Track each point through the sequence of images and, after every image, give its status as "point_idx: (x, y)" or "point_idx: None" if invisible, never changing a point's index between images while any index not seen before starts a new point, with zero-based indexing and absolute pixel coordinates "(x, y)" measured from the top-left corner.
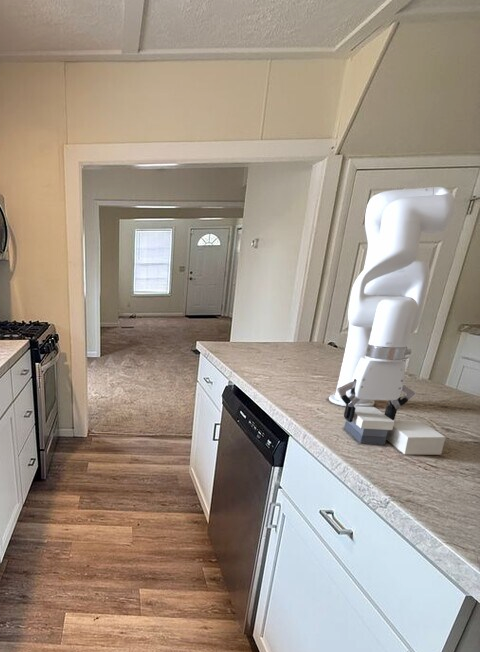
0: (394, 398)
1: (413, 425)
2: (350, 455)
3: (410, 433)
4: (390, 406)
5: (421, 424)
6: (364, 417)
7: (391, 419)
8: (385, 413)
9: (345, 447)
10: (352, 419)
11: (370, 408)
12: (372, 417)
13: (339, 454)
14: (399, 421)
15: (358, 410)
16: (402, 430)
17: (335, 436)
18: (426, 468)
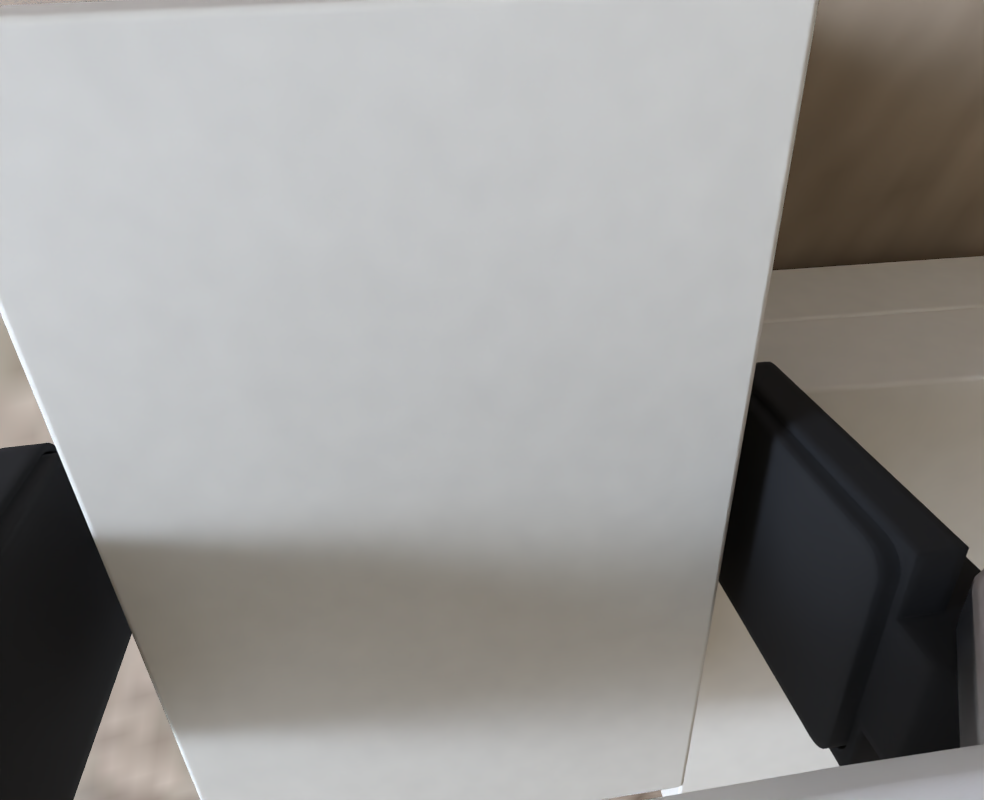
0: None
1: (981, 562)
2: (171, 781)
3: (758, 763)
4: (890, 689)
5: None
6: (280, 764)
7: (690, 726)
8: (775, 480)
9: (142, 659)
10: (115, 657)
11: (623, 167)
12: (421, 729)
13: (78, 792)
14: (925, 422)
15: (243, 413)
16: (731, 705)
17: (36, 400)
18: (654, 794)
